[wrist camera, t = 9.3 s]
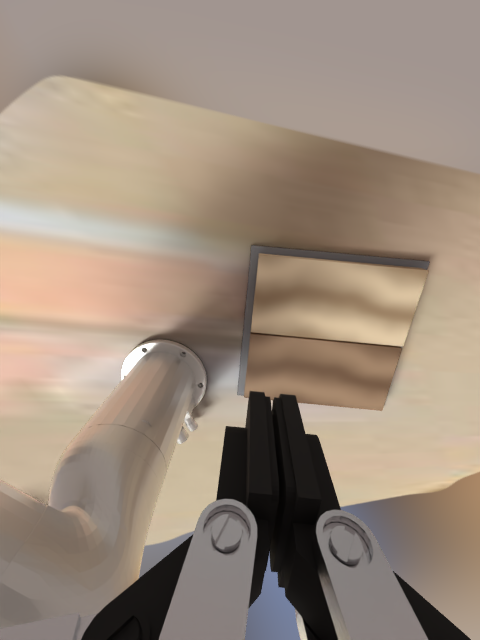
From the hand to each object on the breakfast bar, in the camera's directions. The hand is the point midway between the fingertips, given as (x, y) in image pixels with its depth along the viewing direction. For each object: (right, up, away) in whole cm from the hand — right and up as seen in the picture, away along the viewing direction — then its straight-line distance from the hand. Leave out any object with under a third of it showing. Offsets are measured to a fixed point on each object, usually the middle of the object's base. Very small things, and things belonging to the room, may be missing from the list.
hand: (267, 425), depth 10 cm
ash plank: (+11, +7, +25) cm, 28 cm away
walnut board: (+10, -3, +29) cm, 31 cm away
